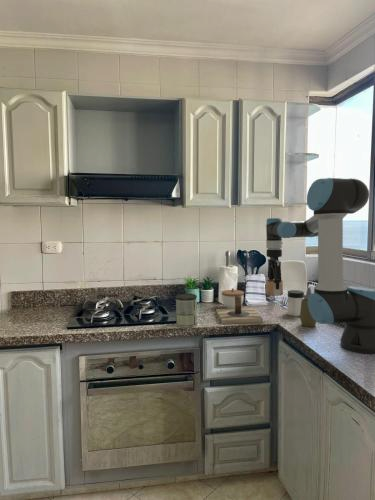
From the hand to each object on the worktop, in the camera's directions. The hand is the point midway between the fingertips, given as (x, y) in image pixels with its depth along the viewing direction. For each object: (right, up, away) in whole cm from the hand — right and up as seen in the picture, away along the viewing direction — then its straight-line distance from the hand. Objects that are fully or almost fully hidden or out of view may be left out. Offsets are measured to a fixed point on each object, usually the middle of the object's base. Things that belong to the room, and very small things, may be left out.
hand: (274, 293), depth 182 cm
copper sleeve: (0, 0, 0) cm, 0 cm away
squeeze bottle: (+13, -13, -13) cm, 23 cm away
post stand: (-18, -12, +2) cm, 22 cm away
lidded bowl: (-18, -11, +23) cm, 31 cm away
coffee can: (-44, -14, -8) cm, 47 cm away
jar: (+13, -12, +7) cm, 19 cm away
